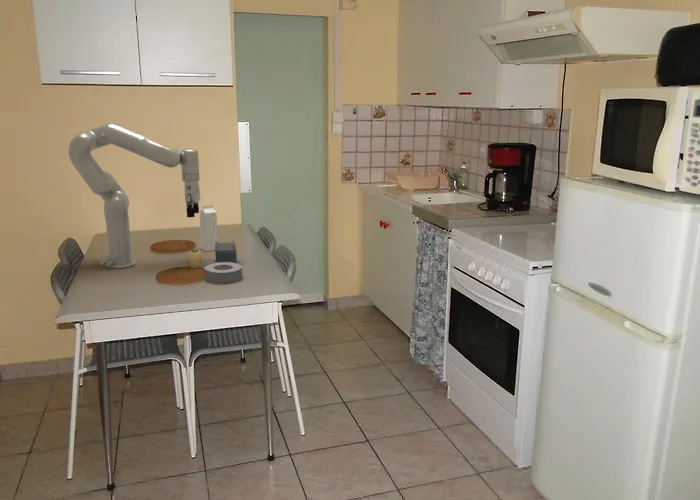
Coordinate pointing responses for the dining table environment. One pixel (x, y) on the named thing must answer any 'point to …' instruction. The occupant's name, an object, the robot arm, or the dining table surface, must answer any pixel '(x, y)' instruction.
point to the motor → (225, 252)
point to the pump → (195, 258)
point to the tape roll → (223, 272)
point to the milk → (208, 228)
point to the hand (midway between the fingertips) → (193, 215)
